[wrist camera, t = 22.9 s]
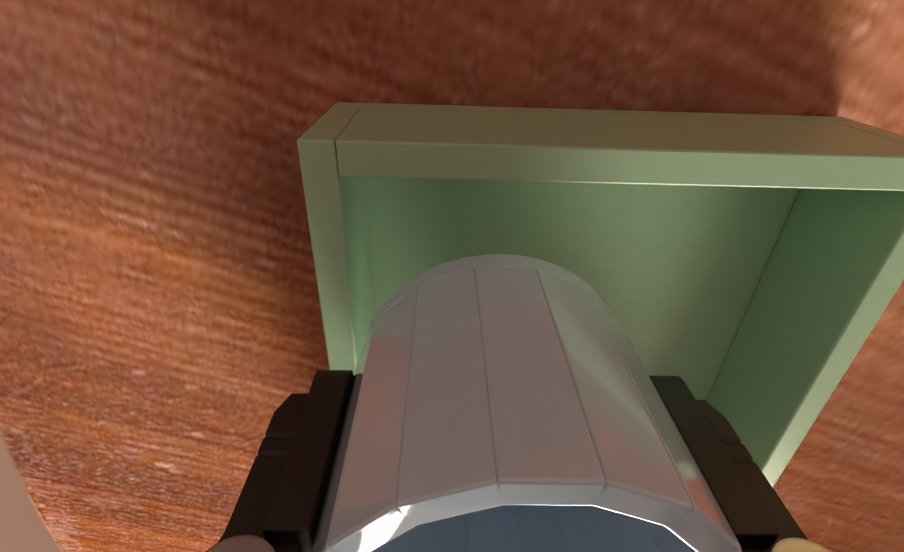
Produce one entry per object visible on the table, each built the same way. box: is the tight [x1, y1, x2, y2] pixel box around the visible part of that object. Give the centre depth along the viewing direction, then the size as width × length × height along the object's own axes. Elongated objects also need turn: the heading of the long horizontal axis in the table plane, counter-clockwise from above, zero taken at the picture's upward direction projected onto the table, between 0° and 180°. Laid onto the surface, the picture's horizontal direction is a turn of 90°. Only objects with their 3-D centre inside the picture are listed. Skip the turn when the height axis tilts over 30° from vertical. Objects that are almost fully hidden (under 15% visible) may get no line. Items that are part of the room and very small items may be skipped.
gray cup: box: [311, 254, 742, 552], centre depth 9 cm, size 6×6×6 cm
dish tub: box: [297, 102, 904, 488], centre depth 16 cm, size 15×17×4 cm
